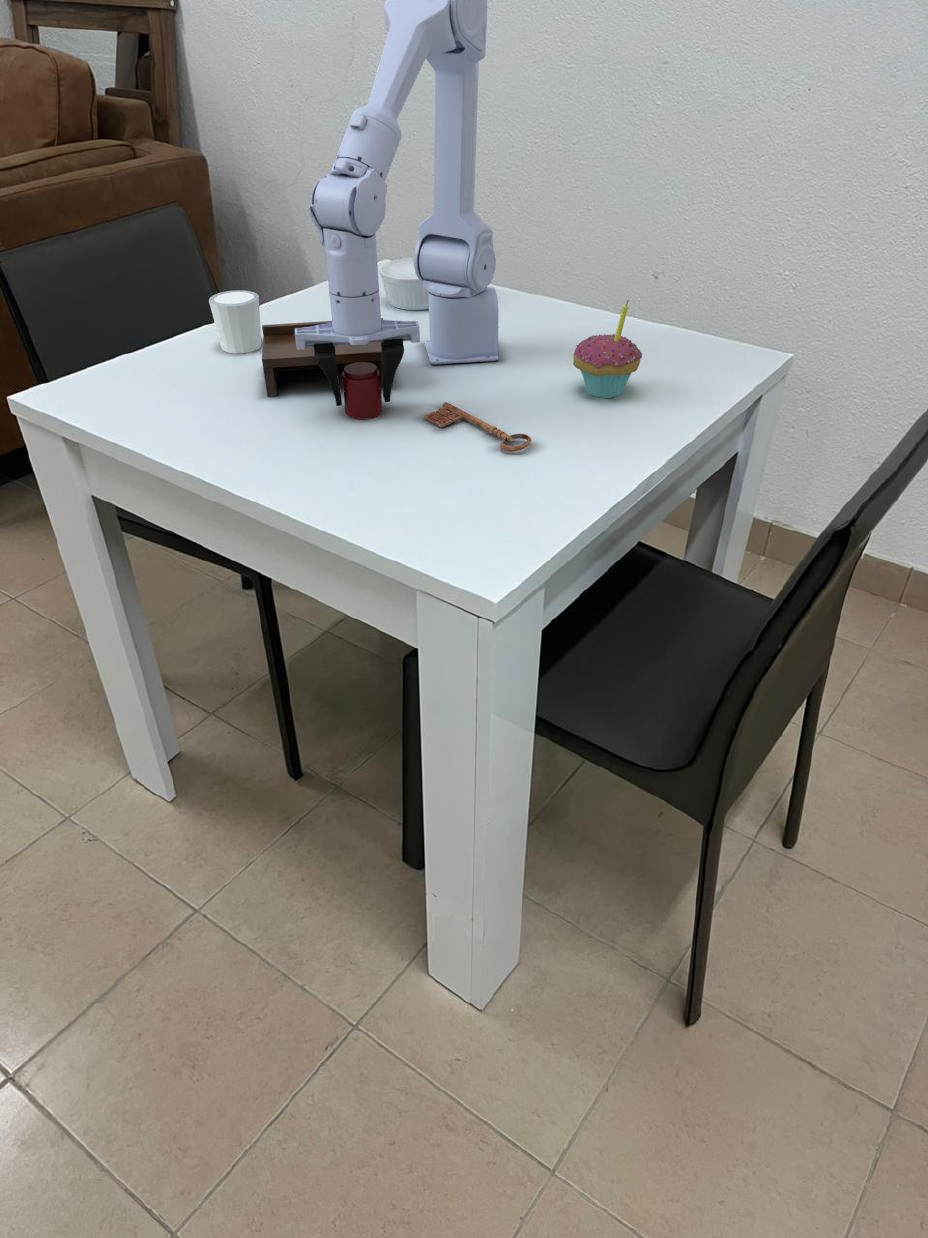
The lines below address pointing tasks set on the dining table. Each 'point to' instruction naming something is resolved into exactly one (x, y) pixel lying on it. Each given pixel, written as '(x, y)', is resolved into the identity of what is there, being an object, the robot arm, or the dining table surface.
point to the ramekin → (403, 285)
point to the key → (453, 414)
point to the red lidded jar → (362, 390)
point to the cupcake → (607, 361)
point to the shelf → (306, 353)
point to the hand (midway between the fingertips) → (363, 400)
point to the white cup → (237, 320)
